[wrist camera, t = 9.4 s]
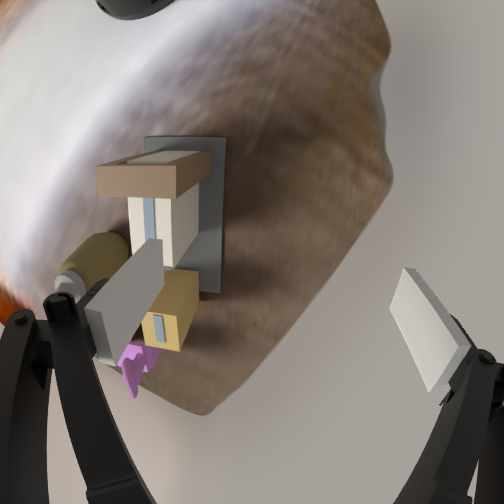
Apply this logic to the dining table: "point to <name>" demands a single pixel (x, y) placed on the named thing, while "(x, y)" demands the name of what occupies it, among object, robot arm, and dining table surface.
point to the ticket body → (159, 196)
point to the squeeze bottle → (92, 263)
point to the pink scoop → (137, 363)
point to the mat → (202, 208)
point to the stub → (172, 310)
